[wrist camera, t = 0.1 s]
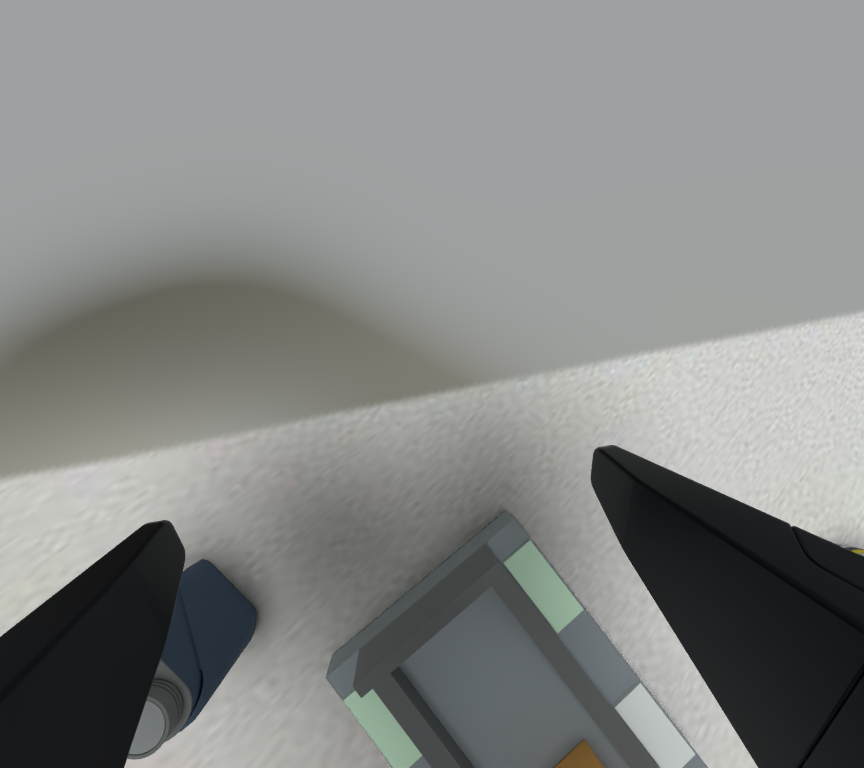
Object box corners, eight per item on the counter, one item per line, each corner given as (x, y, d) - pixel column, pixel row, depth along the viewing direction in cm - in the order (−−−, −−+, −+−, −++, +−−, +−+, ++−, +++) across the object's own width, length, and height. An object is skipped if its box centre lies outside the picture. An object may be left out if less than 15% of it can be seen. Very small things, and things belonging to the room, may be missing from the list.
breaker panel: (683, 741, 23) (760, 826, 18) (518, 906, 22) (554, 1046, 17) (505, 510, 24) (533, 531, 19) (332, 655, 22) (313, 720, 17)
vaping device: (200, 547, 22) (-21, 683, 11) (270, 618, 22) (124, 837, 10) (162, 584, 22) (-111, 767, 10) (232, 657, 22) (38, 926, 10)
